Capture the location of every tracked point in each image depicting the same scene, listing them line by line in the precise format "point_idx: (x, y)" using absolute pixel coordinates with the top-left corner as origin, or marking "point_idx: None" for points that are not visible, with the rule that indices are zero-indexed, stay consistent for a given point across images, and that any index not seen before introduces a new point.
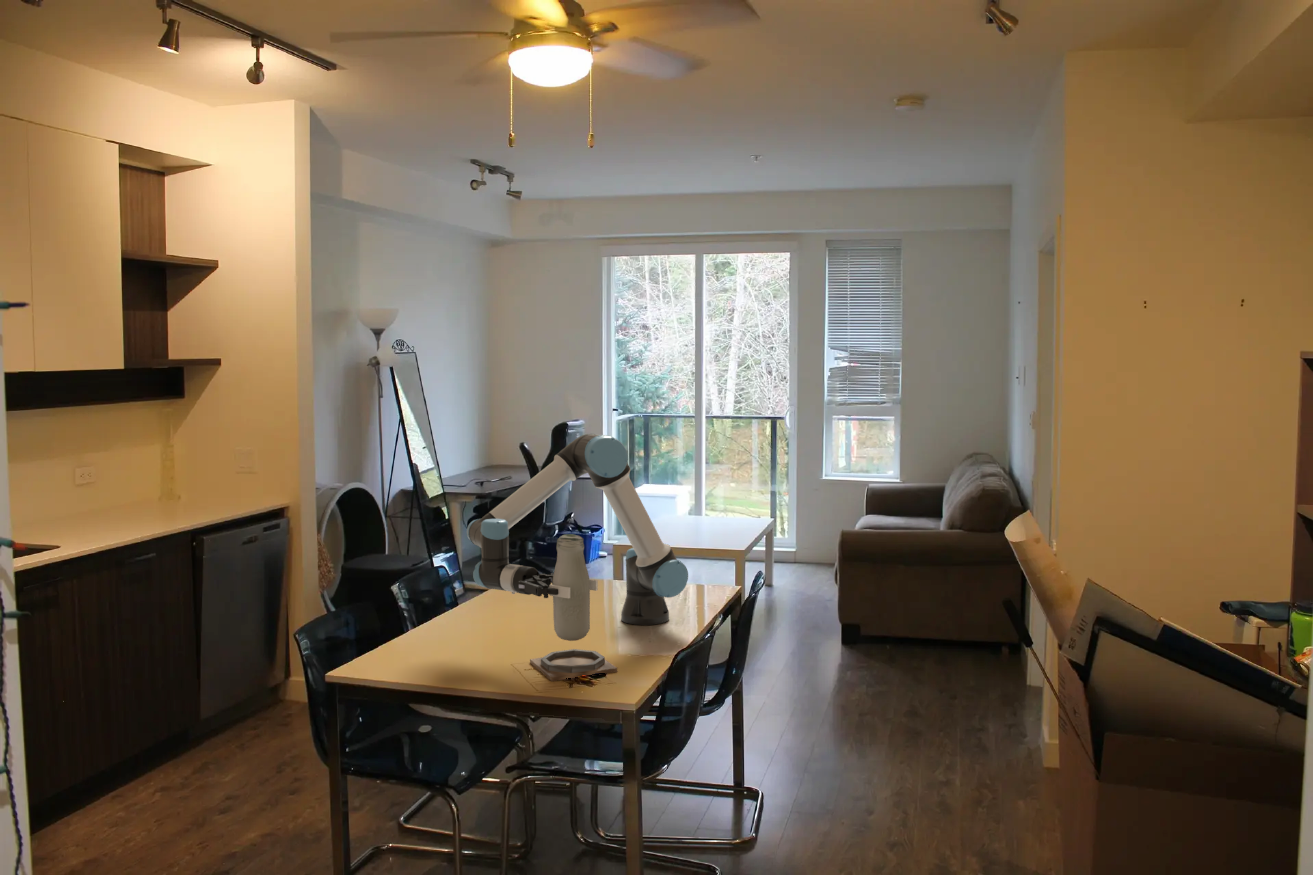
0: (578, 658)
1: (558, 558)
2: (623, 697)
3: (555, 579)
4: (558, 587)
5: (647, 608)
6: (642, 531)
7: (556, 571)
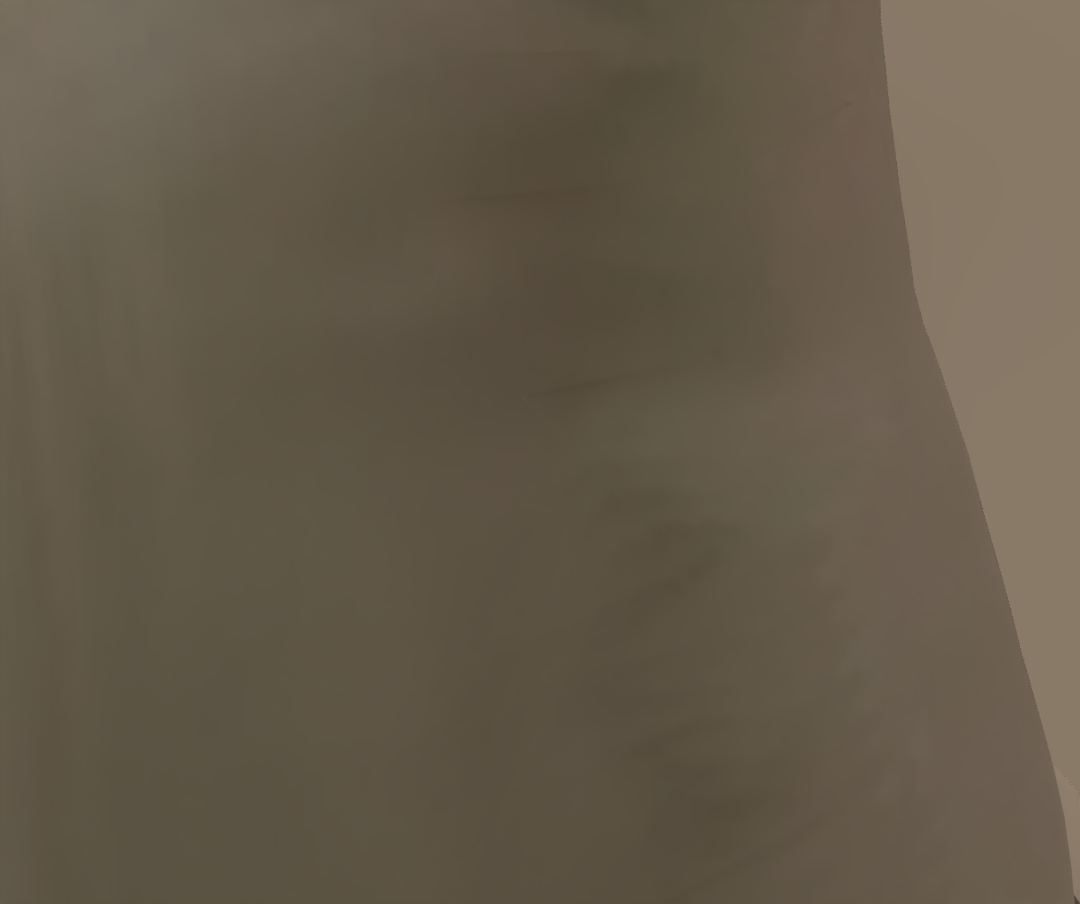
0: None
1: (894, 169)
2: None
3: (1055, 784)
4: (1074, 808)
5: None
6: None
7: (999, 575)
